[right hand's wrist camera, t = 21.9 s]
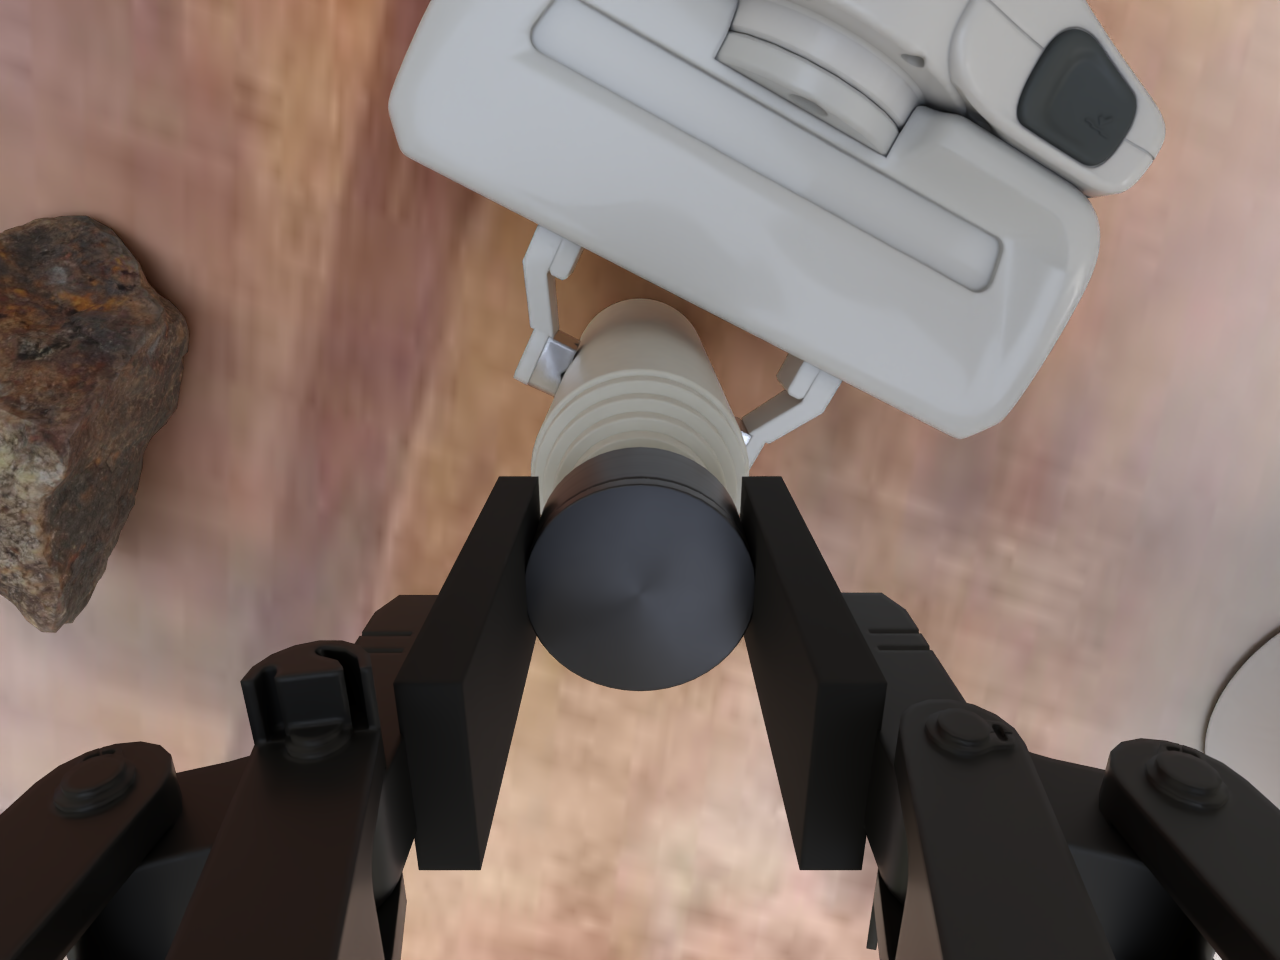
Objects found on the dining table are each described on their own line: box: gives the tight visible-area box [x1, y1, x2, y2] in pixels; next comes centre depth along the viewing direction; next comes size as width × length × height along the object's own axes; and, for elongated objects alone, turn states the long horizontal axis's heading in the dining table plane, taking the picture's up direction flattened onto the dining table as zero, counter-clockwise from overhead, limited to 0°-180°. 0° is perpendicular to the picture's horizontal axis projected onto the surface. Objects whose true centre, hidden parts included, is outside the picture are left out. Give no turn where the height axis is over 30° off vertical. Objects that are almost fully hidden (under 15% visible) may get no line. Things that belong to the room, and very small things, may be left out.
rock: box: [0, 216, 189, 633], centre depth 27 cm, size 14×9×10 cm
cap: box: [525, 447, 755, 691], centre depth 14 cm, size 4×4×2 cm
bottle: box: [531, 298, 749, 515], centre depth 22 cm, size 5×5×19 cm
